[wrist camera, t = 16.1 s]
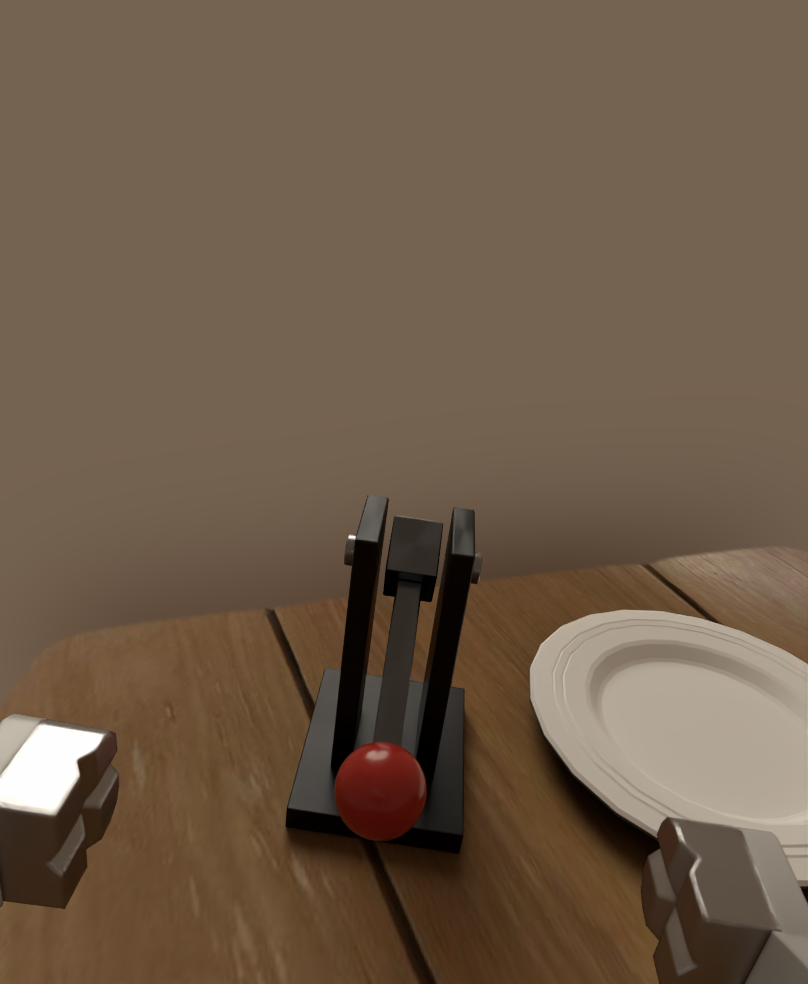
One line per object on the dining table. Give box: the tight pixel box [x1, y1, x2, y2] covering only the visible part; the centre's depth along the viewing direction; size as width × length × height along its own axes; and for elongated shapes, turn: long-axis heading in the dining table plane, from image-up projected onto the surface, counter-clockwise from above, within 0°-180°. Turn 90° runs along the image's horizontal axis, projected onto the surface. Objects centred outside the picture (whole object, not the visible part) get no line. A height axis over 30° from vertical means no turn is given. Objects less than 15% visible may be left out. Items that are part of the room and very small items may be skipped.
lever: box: [334, 516, 443, 841], centre depth 31 cm, size 13×3×3 cm, turn 175°
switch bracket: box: [286, 495, 482, 853], centre depth 36 cm, size 10×8×14 cm
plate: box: [530, 610, 808, 889], centre depth 42 cm, size 21×21×2 cm
